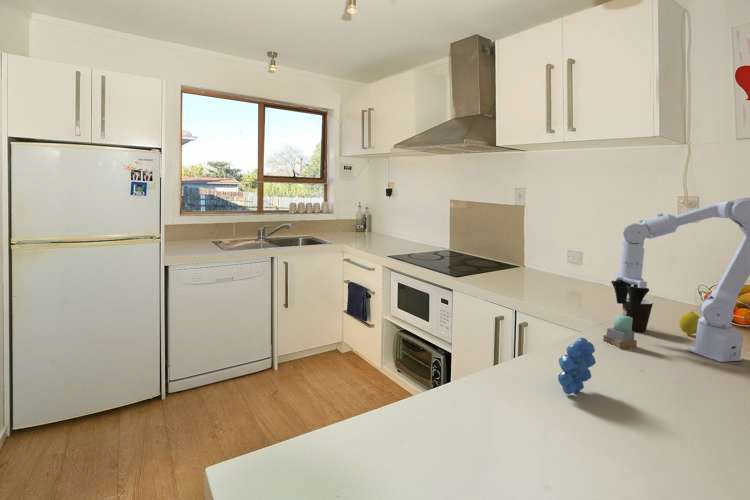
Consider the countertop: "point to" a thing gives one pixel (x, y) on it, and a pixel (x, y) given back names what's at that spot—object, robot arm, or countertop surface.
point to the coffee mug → (638, 315)
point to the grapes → (576, 366)
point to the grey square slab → (620, 335)
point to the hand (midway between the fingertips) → (627, 306)
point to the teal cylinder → (623, 323)
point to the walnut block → (620, 342)
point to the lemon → (689, 323)
